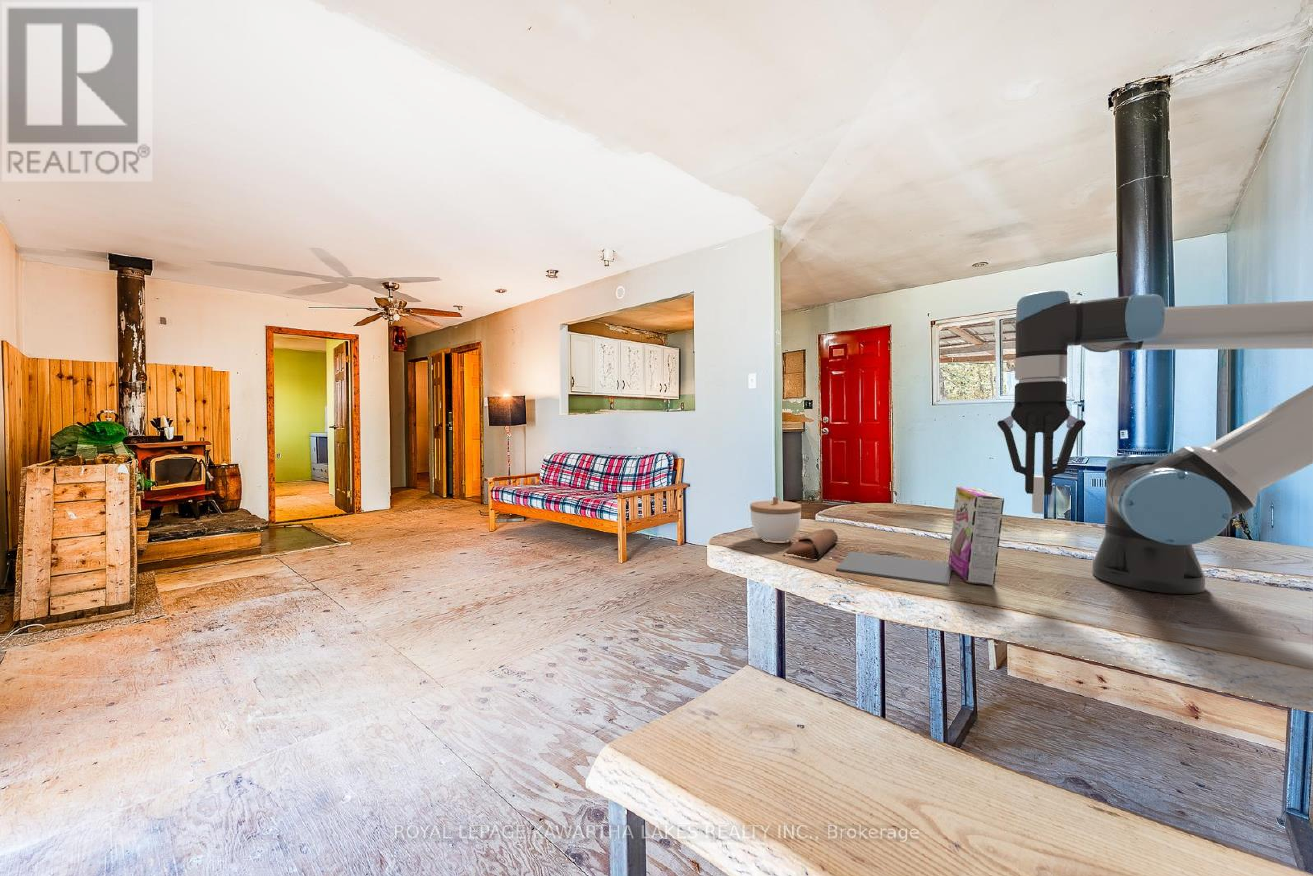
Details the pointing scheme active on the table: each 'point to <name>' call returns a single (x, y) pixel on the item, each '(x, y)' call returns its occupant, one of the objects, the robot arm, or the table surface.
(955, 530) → the candy bar box
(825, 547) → the sunglasses case
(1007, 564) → the table surface
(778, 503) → the lidded bowl
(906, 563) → the mat
